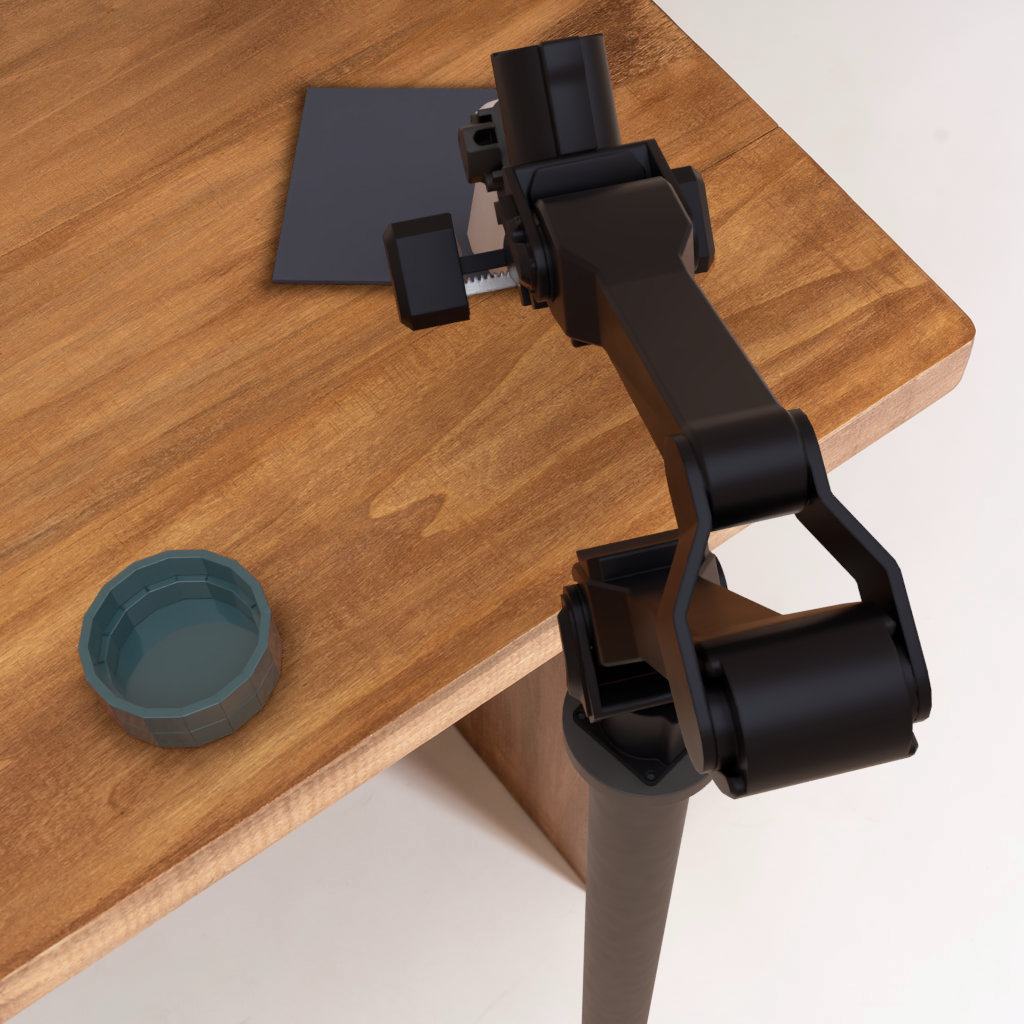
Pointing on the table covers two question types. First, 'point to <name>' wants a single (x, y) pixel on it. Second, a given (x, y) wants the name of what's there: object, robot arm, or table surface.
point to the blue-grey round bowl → (181, 648)
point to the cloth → (372, 178)
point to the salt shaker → (485, 219)
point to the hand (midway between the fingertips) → (528, 247)
